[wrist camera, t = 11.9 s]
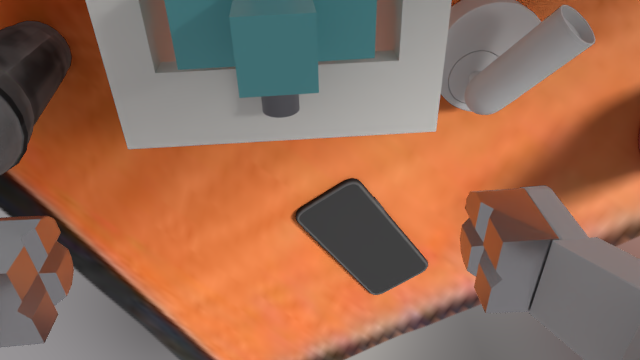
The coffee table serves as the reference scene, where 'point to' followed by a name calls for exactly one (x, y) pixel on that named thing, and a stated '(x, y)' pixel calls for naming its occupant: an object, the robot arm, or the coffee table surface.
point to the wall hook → (506, 51)
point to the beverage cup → (27, 83)
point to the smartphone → (362, 237)
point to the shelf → (243, 118)
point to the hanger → (271, 39)
